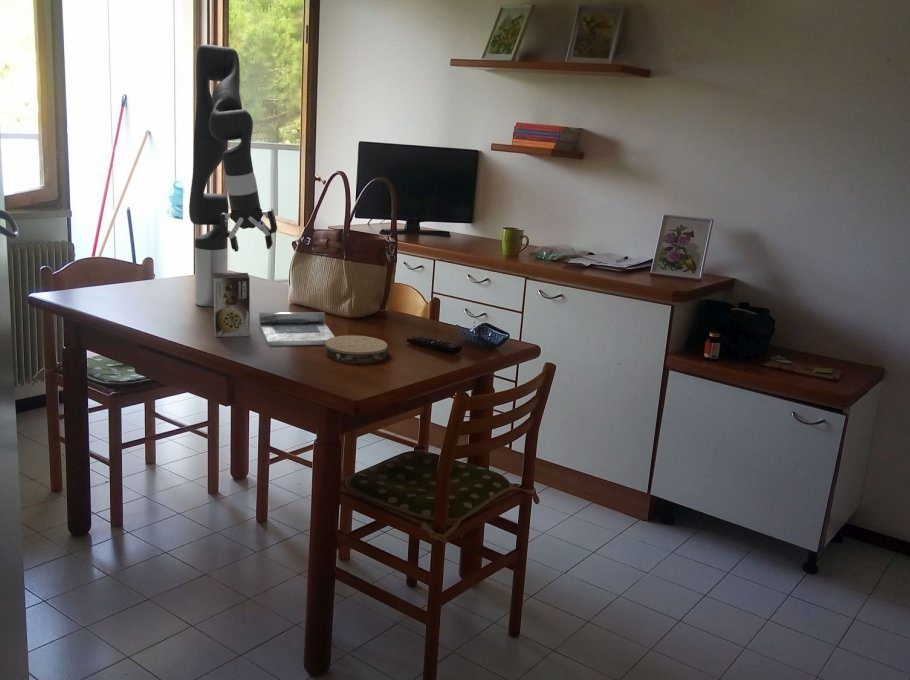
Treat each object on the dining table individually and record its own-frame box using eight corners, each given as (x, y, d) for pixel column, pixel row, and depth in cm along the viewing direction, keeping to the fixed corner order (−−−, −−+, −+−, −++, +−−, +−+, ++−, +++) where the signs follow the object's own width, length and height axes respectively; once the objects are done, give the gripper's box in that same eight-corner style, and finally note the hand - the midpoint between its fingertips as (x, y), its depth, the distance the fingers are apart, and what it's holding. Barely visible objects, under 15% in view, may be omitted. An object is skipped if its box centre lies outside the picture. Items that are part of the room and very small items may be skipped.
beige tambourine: (343, 343, 223) (343, 332, 223) (397, 352, 218) (397, 341, 217) (312, 357, 209) (313, 345, 208) (369, 367, 204) (369, 356, 203)
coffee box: (248, 330, 228) (248, 272, 223) (250, 336, 222) (250, 277, 217) (213, 330, 225) (213, 271, 221) (214, 337, 219) (214, 276, 215)
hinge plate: (258, 326, 233) (259, 311, 232) (322, 325, 239) (323, 311, 238) (268, 345, 215) (268, 330, 213) (337, 344, 221) (337, 328, 220)
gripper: (272, 183, 218) (281, 242, 225) (217, 188, 218) (228, 246, 225) (268, 191, 211) (277, 252, 219) (211, 196, 211) (223, 256, 218)
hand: (252, 249), depth 222 cm, fingers open, 8 cm apart
